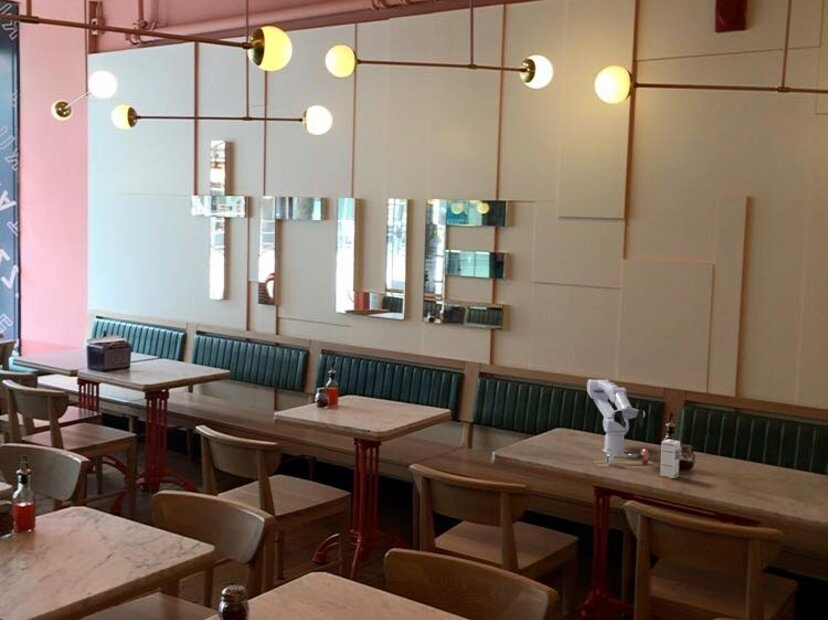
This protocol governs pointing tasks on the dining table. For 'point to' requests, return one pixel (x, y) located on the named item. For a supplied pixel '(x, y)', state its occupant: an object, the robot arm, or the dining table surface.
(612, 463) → the square metal loop
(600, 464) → the light tan board
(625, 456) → the red knobbed metal rod
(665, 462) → the syrup box
